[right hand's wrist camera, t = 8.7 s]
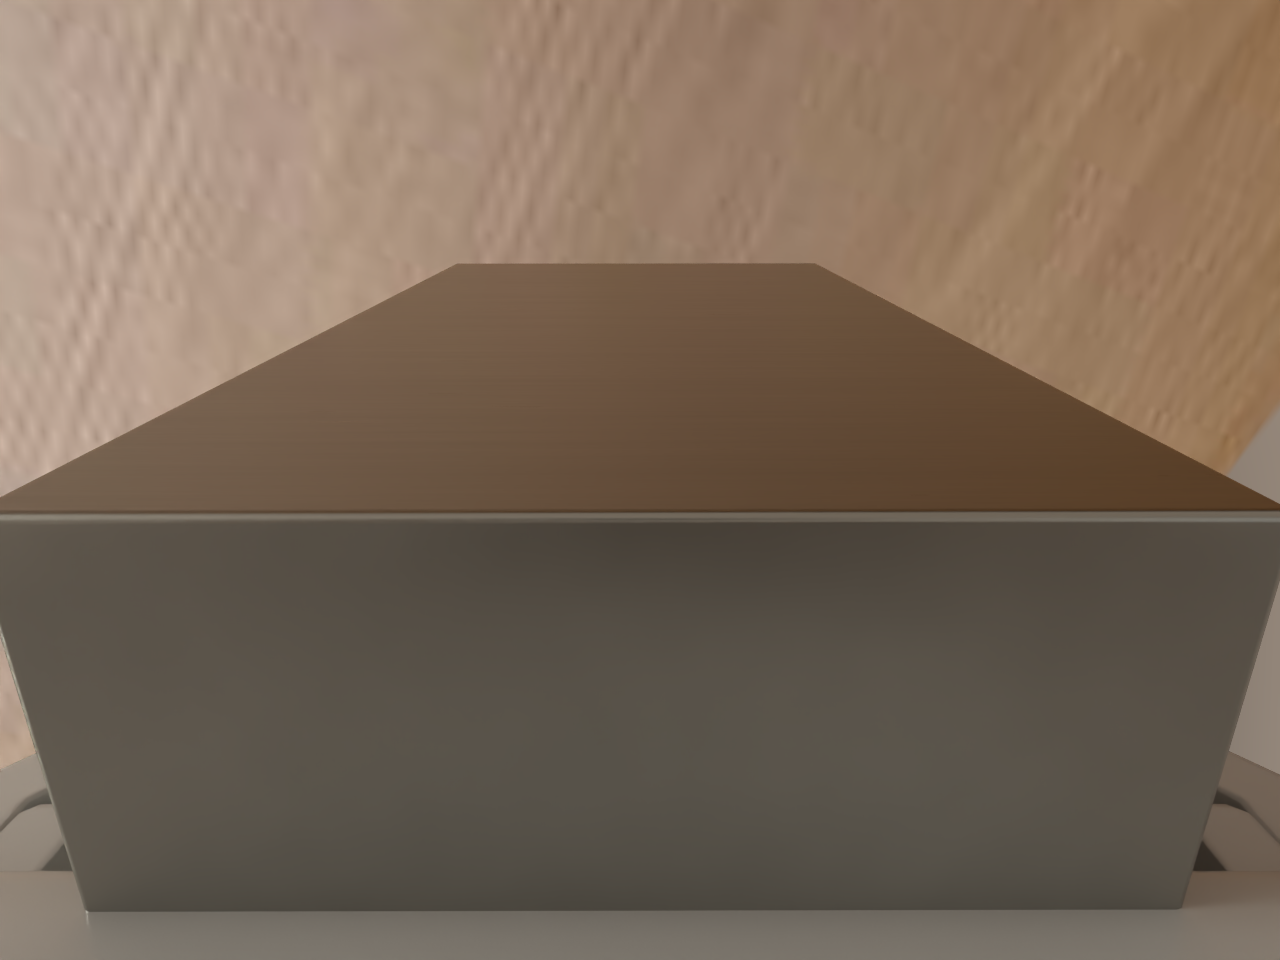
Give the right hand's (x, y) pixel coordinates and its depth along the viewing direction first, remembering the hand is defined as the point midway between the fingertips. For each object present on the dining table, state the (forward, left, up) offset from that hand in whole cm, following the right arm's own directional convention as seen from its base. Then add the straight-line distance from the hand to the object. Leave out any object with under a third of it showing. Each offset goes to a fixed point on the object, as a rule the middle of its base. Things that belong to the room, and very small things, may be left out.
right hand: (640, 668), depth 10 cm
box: (+8, 0, -6) cm, 11 cm away
